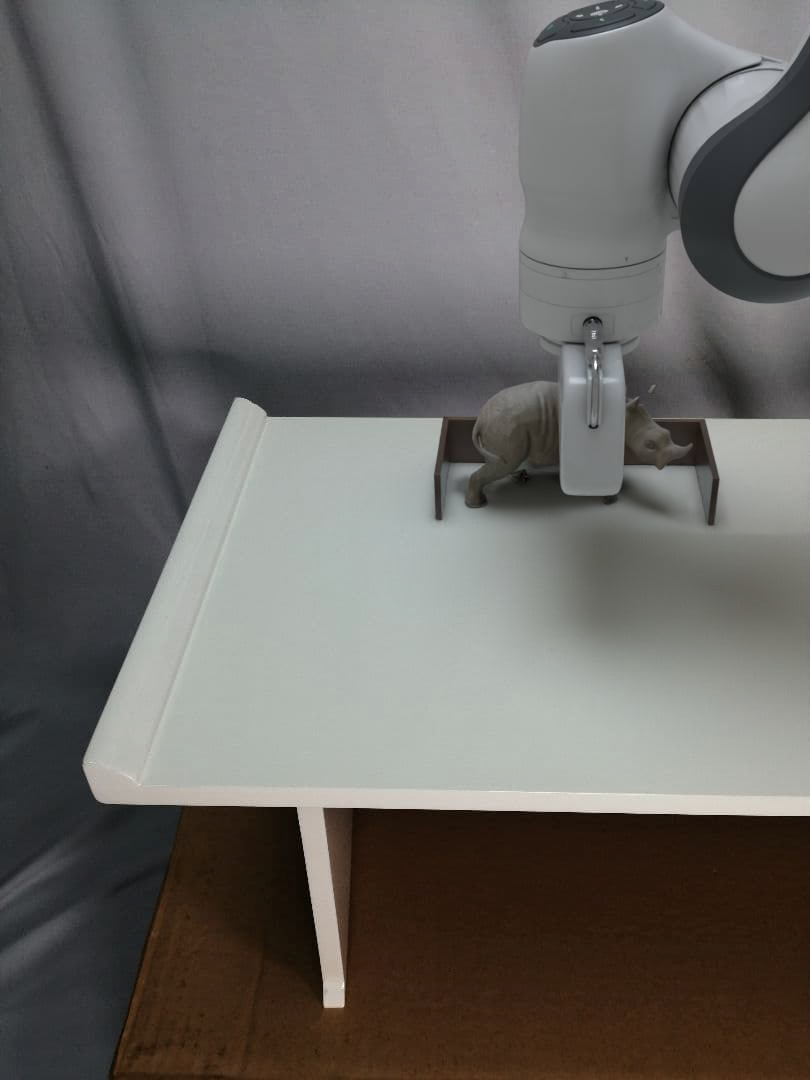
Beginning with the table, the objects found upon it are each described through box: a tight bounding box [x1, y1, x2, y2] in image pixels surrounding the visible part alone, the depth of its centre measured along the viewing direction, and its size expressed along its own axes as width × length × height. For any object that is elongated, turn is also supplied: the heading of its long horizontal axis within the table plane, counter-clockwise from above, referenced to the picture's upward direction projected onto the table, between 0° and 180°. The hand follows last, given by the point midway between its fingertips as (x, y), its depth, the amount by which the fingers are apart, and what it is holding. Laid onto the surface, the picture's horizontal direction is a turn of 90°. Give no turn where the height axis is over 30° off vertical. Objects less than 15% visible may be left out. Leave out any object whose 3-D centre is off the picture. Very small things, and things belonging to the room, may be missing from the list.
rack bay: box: [433, 416, 720, 525], centre depth 92 cm, size 21×10×4 cm, turn 84°
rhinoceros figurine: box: [464, 380, 693, 508], centre depth 91 cm, size 8×14×15 cm
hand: (584, 483), depth 80 cm, fingers closed
